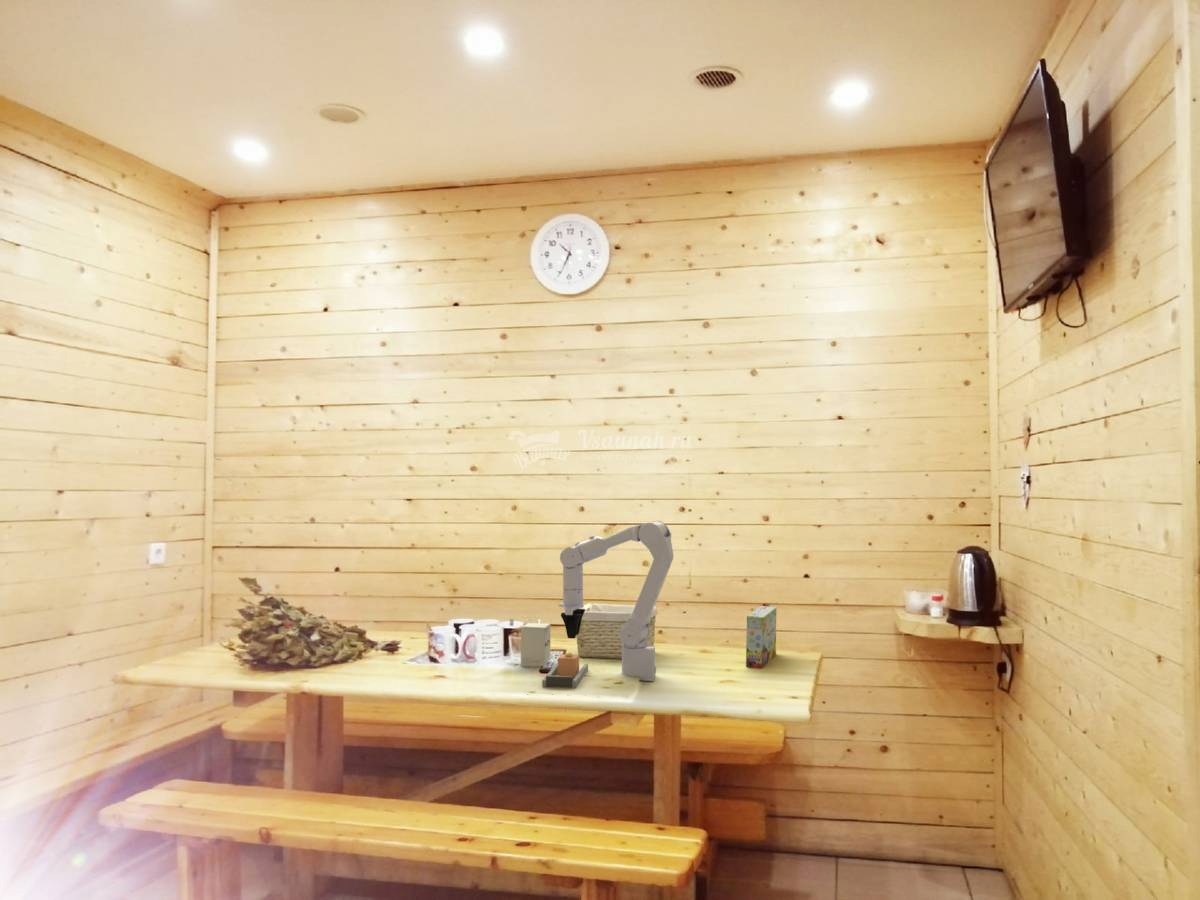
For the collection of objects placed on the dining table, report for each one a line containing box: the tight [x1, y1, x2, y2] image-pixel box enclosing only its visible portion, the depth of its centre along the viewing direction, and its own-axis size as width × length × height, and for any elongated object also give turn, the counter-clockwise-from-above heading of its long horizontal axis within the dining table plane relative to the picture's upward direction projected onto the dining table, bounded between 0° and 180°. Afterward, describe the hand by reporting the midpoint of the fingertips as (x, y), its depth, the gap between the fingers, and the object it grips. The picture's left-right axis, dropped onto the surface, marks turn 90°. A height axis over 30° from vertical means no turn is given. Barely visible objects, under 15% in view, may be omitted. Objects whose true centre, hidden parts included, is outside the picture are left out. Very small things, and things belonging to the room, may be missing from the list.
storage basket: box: [575, 602, 658, 660], centre depth 269 cm, size 24×16×15 cm
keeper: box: [557, 652, 580, 678], centre depth 237 cm, size 5×5×6 cm
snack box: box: [745, 605, 777, 669], centre depth 259 cm, size 21×6×15 cm, turn 158°
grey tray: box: [541, 662, 589, 689], centre depth 233 cm, size 12×20×4 cm, turn 172°
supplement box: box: [520, 622, 551, 668], centre depth 251 cm, size 7×7×13 cm
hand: (573, 636), depth 245 cm, fingers open, 5 cm apart
